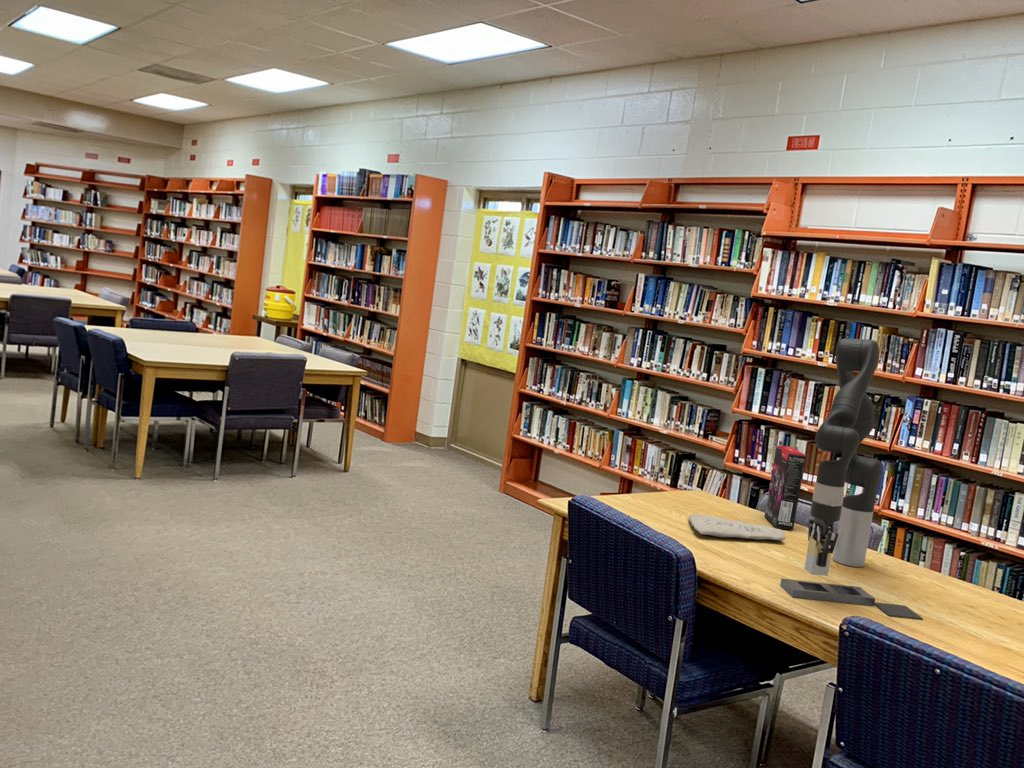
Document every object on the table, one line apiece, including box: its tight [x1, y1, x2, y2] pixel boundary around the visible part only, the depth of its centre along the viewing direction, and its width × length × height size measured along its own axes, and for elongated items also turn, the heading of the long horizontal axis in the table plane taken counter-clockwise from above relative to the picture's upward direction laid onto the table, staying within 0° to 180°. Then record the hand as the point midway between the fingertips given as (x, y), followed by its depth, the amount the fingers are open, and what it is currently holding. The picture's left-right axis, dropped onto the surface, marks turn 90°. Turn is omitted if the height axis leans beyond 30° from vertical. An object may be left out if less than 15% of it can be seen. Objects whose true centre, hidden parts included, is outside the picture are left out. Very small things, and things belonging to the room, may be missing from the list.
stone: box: [688, 513, 786, 541], centre depth 284 cm, size 25×5×30 cm
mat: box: [874, 601, 924, 621], centre depth 224 cm, size 9×9×1 cm
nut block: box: [804, 536, 832, 577], centre depth 229 cm, size 4×4×9 cm
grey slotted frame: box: [779, 578, 876, 607], centre depth 230 cm, size 9×22×2 cm, turn 92°
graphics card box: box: [764, 445, 807, 531], centre depth 307 cm, size 17×7×27 cm, turn 178°
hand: (817, 563), depth 229 cm, fingers closed on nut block, 4 cm apart
